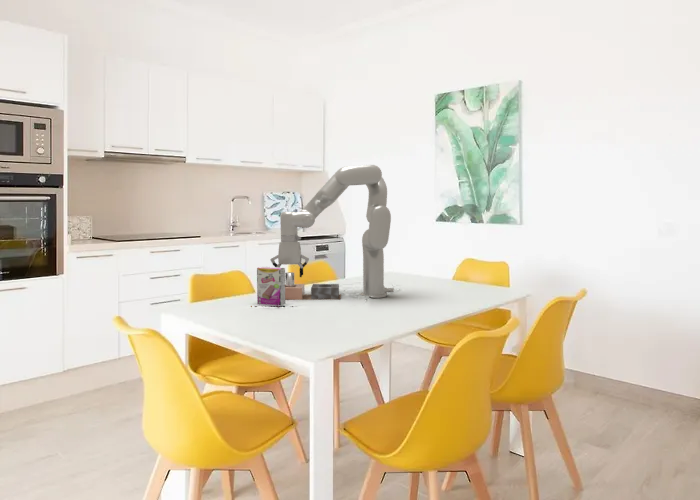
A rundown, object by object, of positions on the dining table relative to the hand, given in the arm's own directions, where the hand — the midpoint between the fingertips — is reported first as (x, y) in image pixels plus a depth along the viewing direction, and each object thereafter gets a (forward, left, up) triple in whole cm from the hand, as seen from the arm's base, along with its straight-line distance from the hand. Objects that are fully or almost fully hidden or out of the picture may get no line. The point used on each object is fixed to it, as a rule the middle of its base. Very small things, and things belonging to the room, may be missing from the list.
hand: (290, 277), depth 249 cm
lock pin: (0, 0, -9) cm, 9 cm away
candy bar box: (+6, +16, -10) cm, 20 cm away
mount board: (-8, 0, -10) cm, 13 cm away
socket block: (0, 0, -9) cm, 9 cm away
